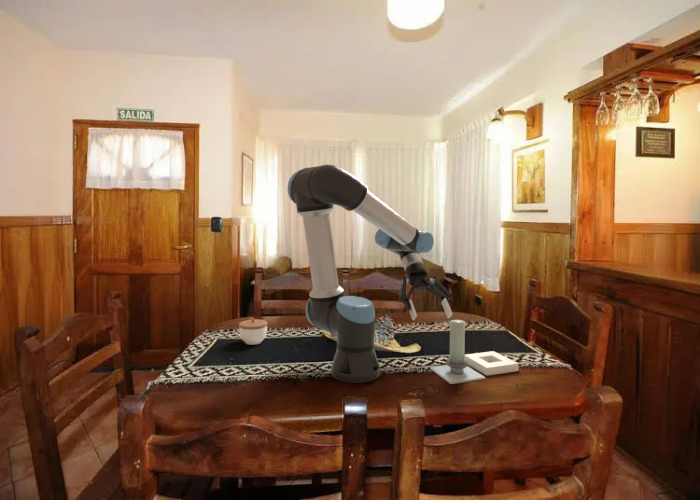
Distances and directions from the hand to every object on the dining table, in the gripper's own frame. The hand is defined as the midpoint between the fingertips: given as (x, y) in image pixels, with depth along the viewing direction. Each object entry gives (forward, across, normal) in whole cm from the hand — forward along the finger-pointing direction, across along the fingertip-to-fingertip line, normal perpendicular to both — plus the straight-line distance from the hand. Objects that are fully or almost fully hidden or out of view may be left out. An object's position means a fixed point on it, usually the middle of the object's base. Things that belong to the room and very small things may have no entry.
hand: (432, 317), depth 132 cm
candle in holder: (+20, -1, 0) cm, 20 cm away
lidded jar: (-14, +58, -37) cm, 70 cm away
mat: (+20, -1, 0) cm, 20 cm away
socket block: (+18, -15, -2) cm, 24 cm away
